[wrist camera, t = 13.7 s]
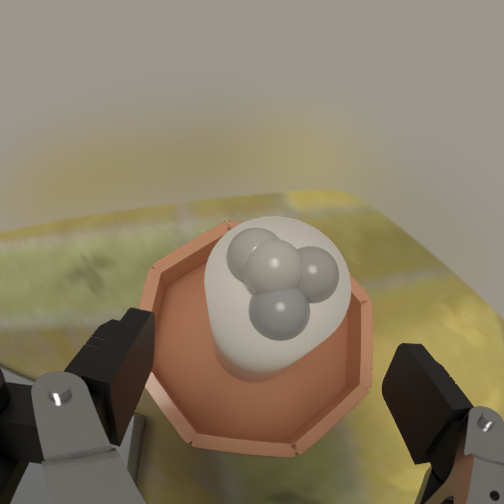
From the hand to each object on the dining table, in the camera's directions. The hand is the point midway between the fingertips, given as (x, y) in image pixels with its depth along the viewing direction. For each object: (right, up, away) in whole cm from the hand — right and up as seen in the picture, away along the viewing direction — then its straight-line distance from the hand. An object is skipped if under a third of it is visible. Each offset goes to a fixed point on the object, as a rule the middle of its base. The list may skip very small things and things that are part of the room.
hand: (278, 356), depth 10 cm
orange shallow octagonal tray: (-1, -3, +11) cm, 11 cm away
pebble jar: (-1, -2, +10) cm, 10 cm away
